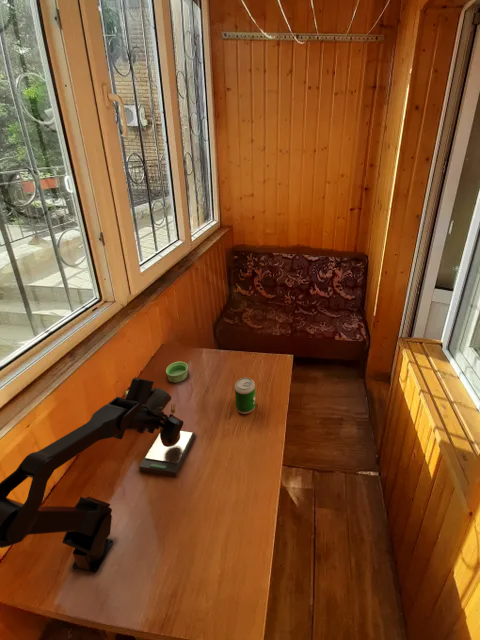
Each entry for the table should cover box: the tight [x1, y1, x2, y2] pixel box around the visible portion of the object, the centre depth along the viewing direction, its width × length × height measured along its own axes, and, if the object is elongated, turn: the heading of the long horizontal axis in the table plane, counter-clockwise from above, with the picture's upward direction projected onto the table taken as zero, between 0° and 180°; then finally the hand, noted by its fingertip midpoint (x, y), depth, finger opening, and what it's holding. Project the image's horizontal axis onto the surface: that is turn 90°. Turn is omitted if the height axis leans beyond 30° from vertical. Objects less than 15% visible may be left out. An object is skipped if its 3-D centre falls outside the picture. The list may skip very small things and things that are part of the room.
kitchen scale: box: [138, 430, 196, 478], centre depth 102 cm, size 14×12×2 cm
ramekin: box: [165, 361, 189, 384], centre depth 135 cm, size 9×9×4 cm
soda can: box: [234, 377, 257, 415], centre depth 118 cm, size 8×8×12 cm
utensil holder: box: [159, 402, 180, 447], centre depth 99 cm, size 6×6×12 cm
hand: (172, 420), depth 100 cm, fingers closed on utensil holder, 5 cm apart
